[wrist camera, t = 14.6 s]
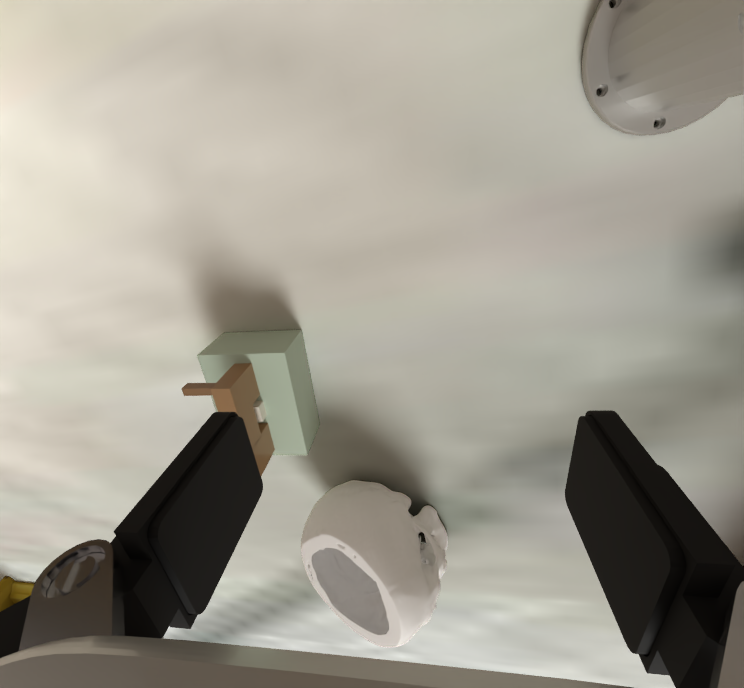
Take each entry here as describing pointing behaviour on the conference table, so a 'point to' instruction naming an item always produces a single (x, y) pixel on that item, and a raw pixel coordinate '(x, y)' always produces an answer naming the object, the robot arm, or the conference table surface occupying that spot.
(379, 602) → the skull planter
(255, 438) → the wooden staple shape
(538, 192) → the conference table surface
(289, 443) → the pale green box
